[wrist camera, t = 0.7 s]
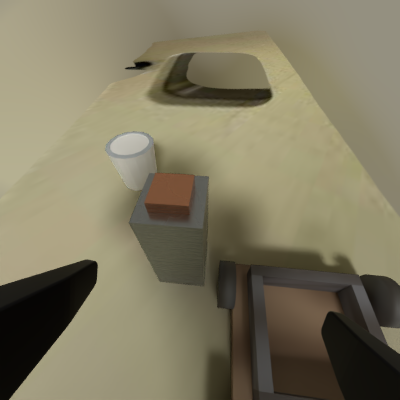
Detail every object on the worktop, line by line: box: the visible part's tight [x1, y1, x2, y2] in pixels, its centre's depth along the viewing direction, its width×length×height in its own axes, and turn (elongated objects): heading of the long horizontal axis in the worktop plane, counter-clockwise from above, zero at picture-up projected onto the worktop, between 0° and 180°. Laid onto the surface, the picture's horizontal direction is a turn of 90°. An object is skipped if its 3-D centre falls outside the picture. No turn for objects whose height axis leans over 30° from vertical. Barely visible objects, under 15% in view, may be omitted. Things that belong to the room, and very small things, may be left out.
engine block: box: [129, 173, 209, 286], centre depth 19 cm, size 5×5×13 cm
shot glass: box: [105, 131, 157, 191], centre depth 31 cm, size 7×7×7 cm
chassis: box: [217, 261, 400, 400], centre depth 16 cm, size 16×16×4 cm
